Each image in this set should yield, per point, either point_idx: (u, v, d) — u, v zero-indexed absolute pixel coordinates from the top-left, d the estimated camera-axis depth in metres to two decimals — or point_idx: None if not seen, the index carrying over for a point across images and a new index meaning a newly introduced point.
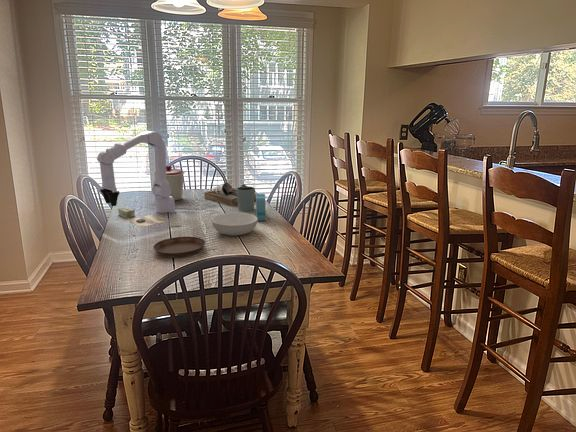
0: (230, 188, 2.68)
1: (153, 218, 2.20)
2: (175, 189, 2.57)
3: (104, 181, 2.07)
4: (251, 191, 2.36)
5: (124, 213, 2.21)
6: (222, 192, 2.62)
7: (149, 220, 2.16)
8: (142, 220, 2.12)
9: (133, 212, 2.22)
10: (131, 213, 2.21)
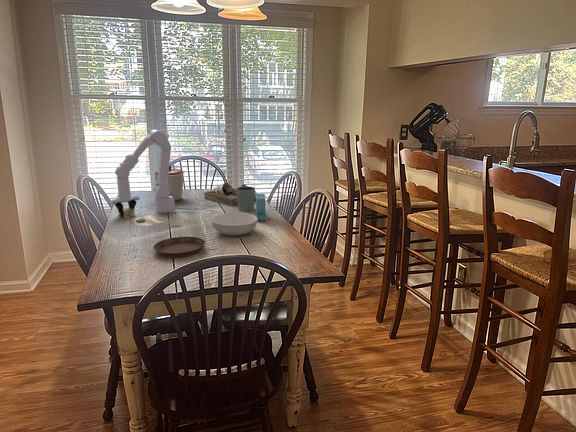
0: (230, 188, 2.67)
1: (153, 218, 2.20)
2: (175, 189, 2.57)
3: None
4: (251, 191, 2.36)
5: (124, 213, 2.21)
6: (222, 192, 2.62)
7: (149, 220, 2.16)
8: (142, 220, 2.12)
9: (133, 212, 2.22)
10: (131, 212, 2.21)
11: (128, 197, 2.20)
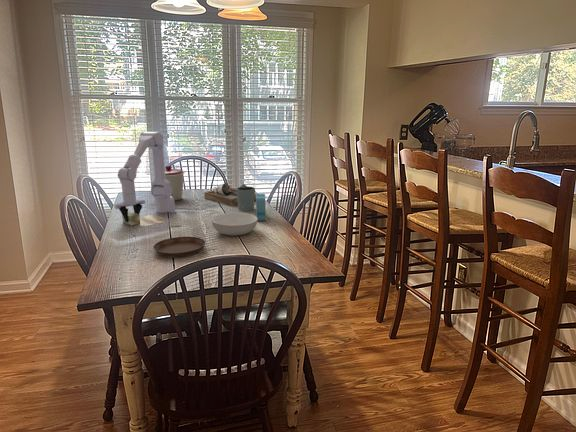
0: (228, 188, 2.67)
1: (153, 218, 2.20)
2: (175, 189, 2.57)
3: None
4: (251, 191, 2.36)
5: (128, 218, 2.06)
6: (222, 193, 2.61)
7: (149, 220, 2.16)
8: None
9: (138, 216, 2.08)
10: (136, 217, 2.07)
11: (133, 201, 2.06)
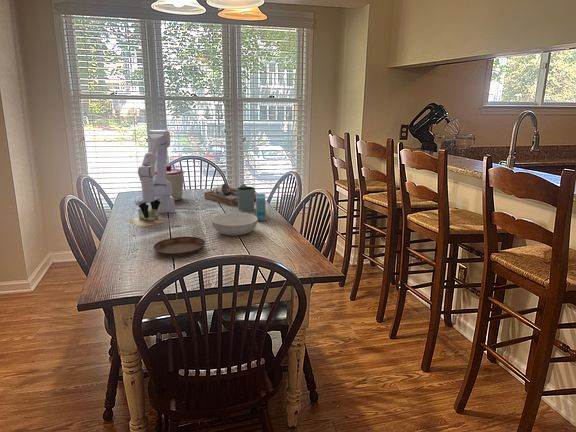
0: (228, 189, 2.66)
1: None
2: (175, 189, 2.57)
3: None
4: (251, 191, 2.36)
5: None
6: (222, 193, 2.60)
7: None
8: None
9: (156, 212, 2.16)
10: (155, 212, 2.15)
11: (153, 197, 2.13)
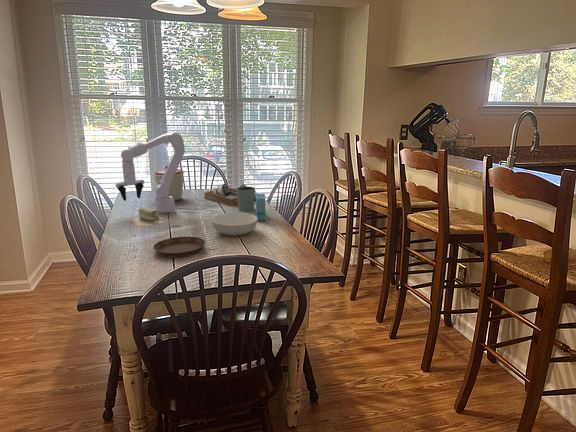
0: (227, 189, 2.65)
1: None
2: (175, 189, 2.57)
3: None
4: (251, 191, 2.36)
5: (148, 213, 2.14)
6: (222, 193, 2.59)
7: None
8: None
9: (157, 212, 2.16)
10: (155, 212, 2.15)
11: (133, 180, 2.22)
